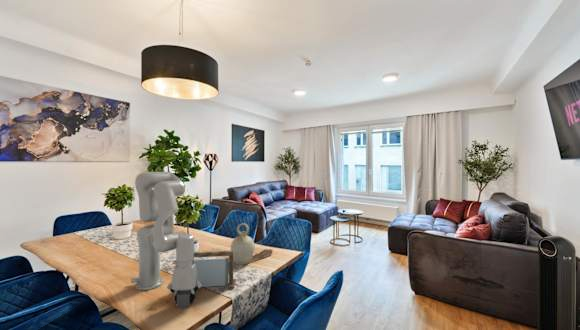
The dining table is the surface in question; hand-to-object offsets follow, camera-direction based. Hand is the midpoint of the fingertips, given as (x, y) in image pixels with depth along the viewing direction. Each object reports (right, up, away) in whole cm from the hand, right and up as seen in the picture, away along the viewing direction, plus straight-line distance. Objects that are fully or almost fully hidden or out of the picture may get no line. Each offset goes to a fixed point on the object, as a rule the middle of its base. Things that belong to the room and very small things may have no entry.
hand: (185, 301), depth 105 cm
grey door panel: (+5, -1, +15) cm, 16 cm away
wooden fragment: (+29, -2, +57) cm, 63 cm away
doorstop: (-1, -1, +4) cm, 4 cm away
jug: (+17, -2, +48) cm, 51 cm away
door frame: (+5, -1, +15) cm, 16 cm away
